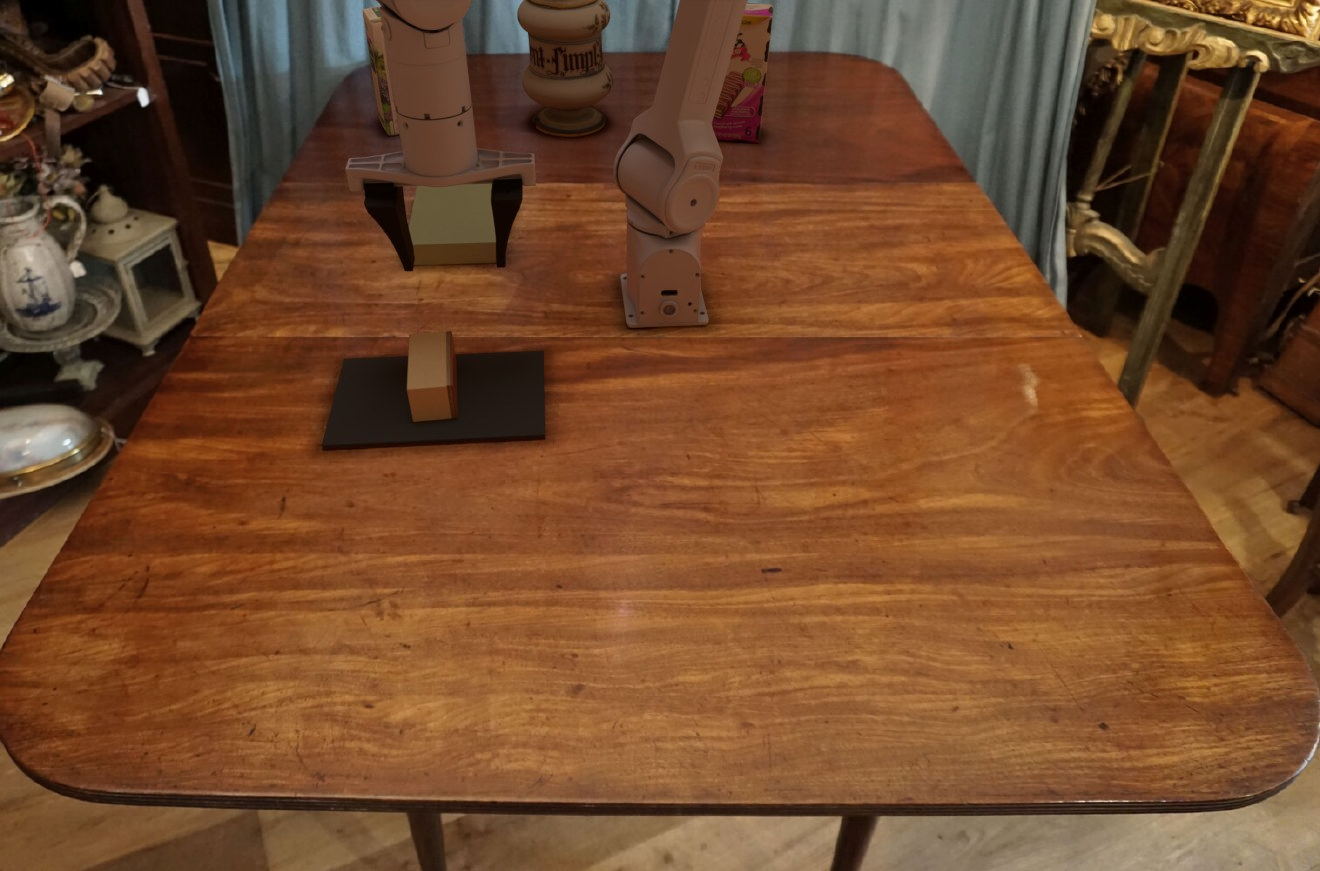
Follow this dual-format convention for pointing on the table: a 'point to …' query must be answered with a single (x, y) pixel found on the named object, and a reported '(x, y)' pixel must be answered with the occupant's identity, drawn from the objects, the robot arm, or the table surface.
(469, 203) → the sage rectangular block
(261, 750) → the table surface
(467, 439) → the felt mat
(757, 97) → the candy bar box
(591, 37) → the apothecary jar
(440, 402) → the tan rectangular block
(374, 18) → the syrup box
